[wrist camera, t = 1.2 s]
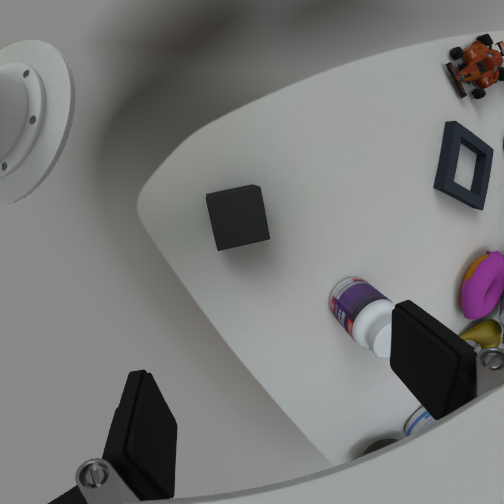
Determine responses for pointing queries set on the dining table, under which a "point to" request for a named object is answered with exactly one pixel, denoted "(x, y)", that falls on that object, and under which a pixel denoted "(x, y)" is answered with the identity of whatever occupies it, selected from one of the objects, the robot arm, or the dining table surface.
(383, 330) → the pill bottle
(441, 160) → the dark blue square frame
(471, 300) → the donut
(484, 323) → the neti pot
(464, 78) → the toy car
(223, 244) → the block
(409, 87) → the dining table surface
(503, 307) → the label tape box
